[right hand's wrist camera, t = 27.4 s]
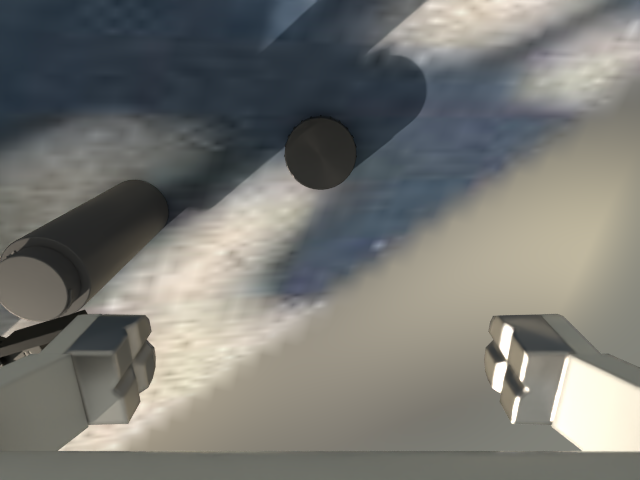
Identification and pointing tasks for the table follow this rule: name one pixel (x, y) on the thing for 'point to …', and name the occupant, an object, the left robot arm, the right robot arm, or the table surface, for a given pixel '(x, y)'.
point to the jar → (79, 251)
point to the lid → (320, 152)
